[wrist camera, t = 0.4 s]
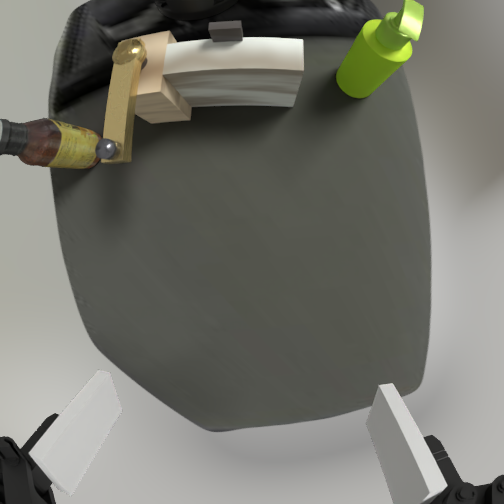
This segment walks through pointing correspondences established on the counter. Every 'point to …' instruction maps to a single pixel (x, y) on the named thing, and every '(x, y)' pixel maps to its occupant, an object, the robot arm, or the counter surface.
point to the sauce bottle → (49, 143)
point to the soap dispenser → (380, 50)
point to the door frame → (216, 72)
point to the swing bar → (121, 102)
